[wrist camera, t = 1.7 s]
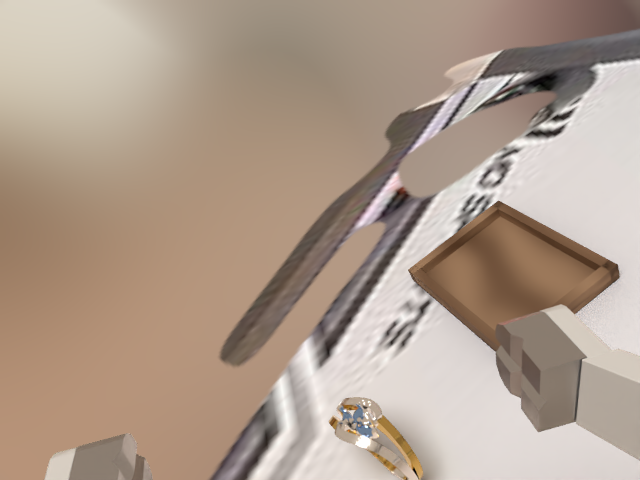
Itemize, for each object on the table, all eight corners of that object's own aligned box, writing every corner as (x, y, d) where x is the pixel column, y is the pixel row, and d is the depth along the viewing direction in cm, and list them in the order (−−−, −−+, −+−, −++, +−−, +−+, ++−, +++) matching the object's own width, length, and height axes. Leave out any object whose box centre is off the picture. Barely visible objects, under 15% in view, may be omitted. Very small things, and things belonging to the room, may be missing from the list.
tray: (501, 211, 52) (498, 200, 51) (619, 277, 41) (617, 264, 40) (413, 280, 50) (408, 269, 50) (511, 365, 40) (507, 354, 39)
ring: (446, 481, 36) (408, 425, 32) (416, 519, 35) (372, 468, 31) (377, 424, 42) (335, 369, 37) (349, 456, 41) (303, 404, 36)
